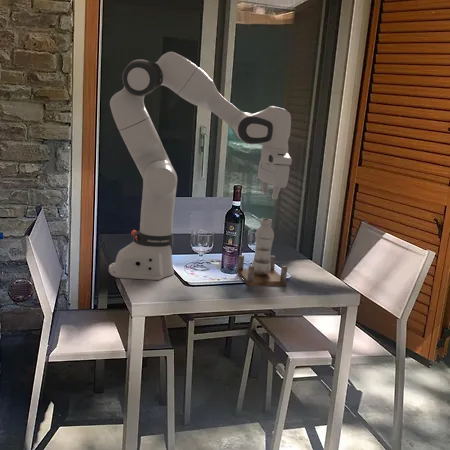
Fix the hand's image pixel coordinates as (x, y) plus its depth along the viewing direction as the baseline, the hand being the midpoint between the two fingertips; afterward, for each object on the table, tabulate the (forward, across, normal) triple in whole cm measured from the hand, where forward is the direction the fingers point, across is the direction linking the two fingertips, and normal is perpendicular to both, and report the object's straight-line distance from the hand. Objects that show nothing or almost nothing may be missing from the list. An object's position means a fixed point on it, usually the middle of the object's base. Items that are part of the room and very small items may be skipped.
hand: (269, 196), depth 196 cm
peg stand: (+30, 0, 0) cm, 30 cm away
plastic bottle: (+28, 0, 0) cm, 29 cm away
